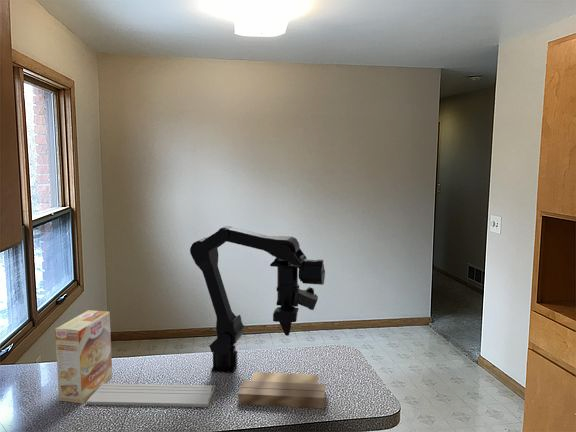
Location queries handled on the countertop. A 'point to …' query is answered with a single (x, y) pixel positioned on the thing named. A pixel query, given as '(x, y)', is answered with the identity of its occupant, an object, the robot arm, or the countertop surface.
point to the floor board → (282, 394)
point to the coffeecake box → (83, 355)
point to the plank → (285, 377)
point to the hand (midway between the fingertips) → (287, 335)
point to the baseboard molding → (153, 395)
